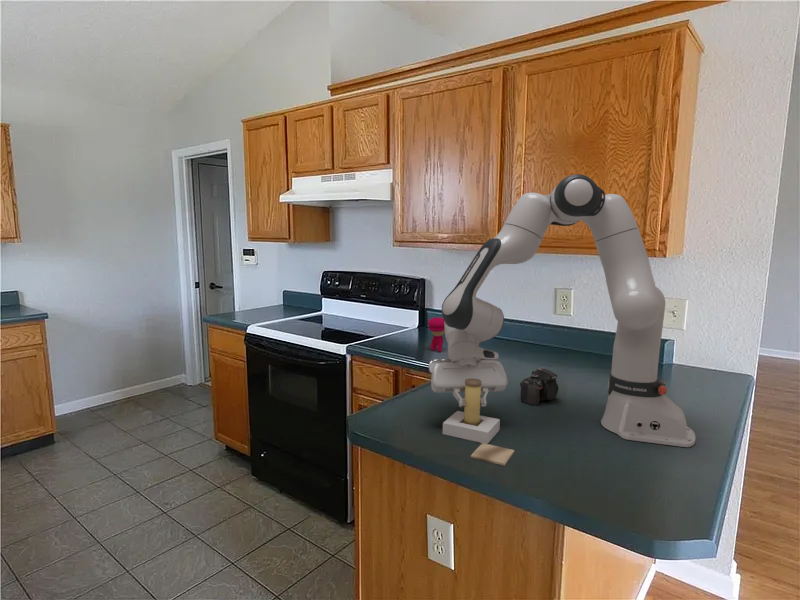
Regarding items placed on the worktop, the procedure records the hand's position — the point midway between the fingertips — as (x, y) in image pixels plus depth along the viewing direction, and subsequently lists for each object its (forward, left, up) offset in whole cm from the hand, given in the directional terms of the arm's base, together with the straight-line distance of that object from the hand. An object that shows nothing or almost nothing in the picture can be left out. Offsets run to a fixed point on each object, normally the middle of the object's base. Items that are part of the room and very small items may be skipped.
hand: (473, 405), depth 126 cm
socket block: (0, -1, -7) cm, 7 cm away
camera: (-9, -36, -8) cm, 38 cm away
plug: (0, -1, -7) cm, 7 cm away
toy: (+44, -77, -8) cm, 89 cm away
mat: (-9, +9, -7) cm, 15 cm away
